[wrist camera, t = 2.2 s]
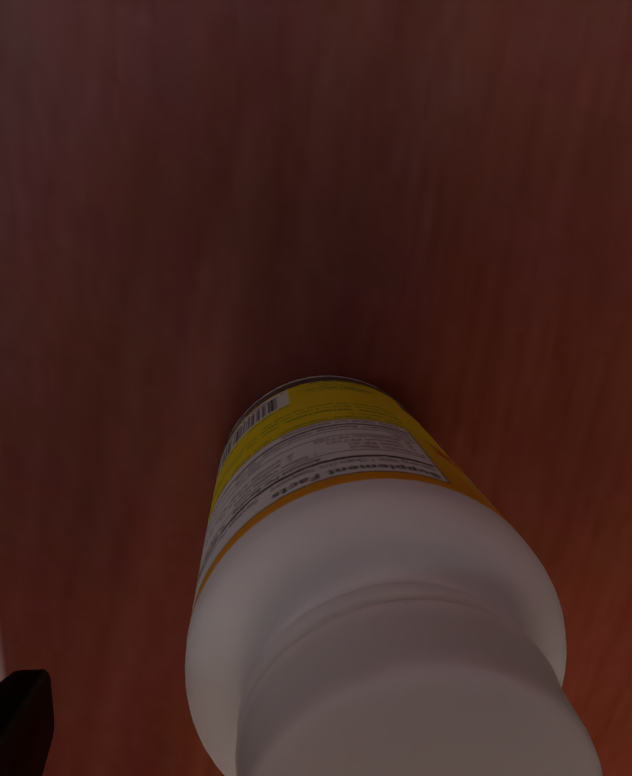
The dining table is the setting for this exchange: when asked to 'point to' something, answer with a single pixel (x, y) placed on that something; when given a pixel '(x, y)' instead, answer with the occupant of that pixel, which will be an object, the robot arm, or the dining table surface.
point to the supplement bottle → (370, 606)
